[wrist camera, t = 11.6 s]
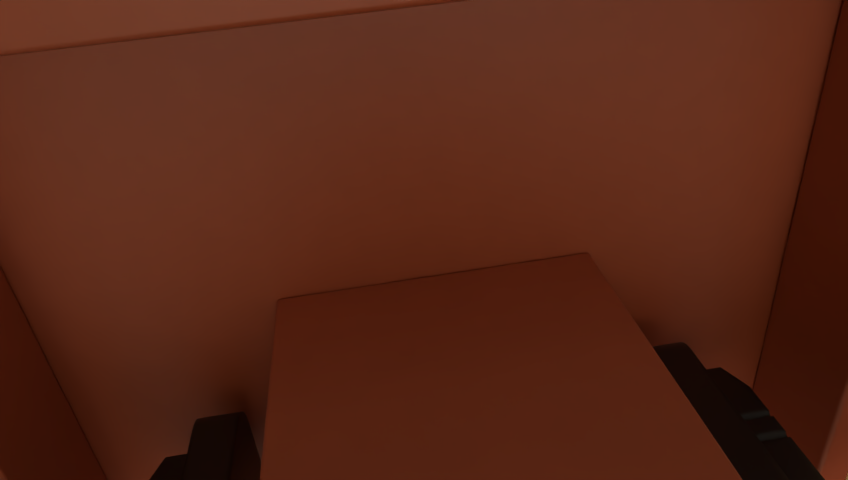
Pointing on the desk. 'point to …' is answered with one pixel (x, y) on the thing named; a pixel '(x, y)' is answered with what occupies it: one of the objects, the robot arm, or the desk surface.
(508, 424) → the terracotta block
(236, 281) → the terracotta tray
